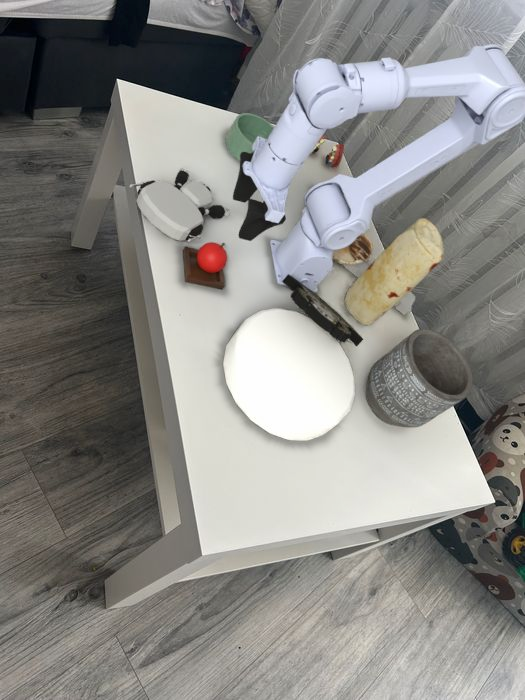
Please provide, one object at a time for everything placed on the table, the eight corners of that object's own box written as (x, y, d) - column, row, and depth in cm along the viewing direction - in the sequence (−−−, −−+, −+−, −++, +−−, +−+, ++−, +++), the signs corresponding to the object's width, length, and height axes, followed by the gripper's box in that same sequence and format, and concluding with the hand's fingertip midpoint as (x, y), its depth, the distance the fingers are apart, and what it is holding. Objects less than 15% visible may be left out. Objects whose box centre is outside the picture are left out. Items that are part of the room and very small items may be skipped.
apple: (218, 283, 92) (239, 258, 89) (194, 271, 89) (215, 246, 87) (211, 264, 95) (232, 240, 92) (188, 253, 92) (209, 227, 90)
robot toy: (174, 177, 102) (117, 204, 90) (185, 157, 99) (128, 182, 87) (227, 227, 101) (176, 259, 90) (239, 208, 98) (189, 239, 87)
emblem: (363, 334, 100) (364, 351, 86) (356, 341, 101) (357, 359, 86) (291, 272, 100) (280, 278, 86) (285, 279, 100) (273, 286, 86)
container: (206, 322, 87) (219, 304, 83) (313, 321, 98) (329, 305, 95) (247, 450, 79) (264, 435, 75) (359, 432, 90) (378, 419, 87)
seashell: (359, 209, 100) (383, 256, 105) (343, 203, 105) (367, 248, 110) (322, 236, 100) (348, 282, 105) (308, 229, 105) (333, 273, 110)
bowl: (273, 174, 115) (285, 157, 111) (228, 159, 110) (238, 141, 107) (267, 140, 120) (278, 123, 116) (223, 125, 115) (233, 106, 112)
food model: (377, 333, 104) (457, 263, 90) (345, 325, 102) (423, 251, 87) (367, 289, 110) (441, 217, 95) (337, 281, 107) (409, 204, 92)
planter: (429, 425, 98) (486, 390, 89) (381, 445, 91) (438, 409, 81) (392, 362, 102) (443, 322, 93) (343, 377, 94) (393, 334, 85)
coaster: (222, 290, 92) (225, 286, 91) (184, 282, 89) (187, 278, 88) (218, 259, 95) (221, 255, 94) (182, 250, 92) (184, 246, 92)
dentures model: (307, 143, 120) (340, 164, 121) (317, 126, 121) (349, 148, 122) (299, 153, 125) (331, 174, 127) (309, 137, 126) (340, 158, 127)
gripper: (252, 104, 80) (212, 176, 90) (267, 180, 73) (222, 250, 83) (297, 120, 84) (253, 188, 93) (315, 194, 76) (266, 260, 86)
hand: (241, 218), depth 88 cm, fingers open, 7 cm apart
